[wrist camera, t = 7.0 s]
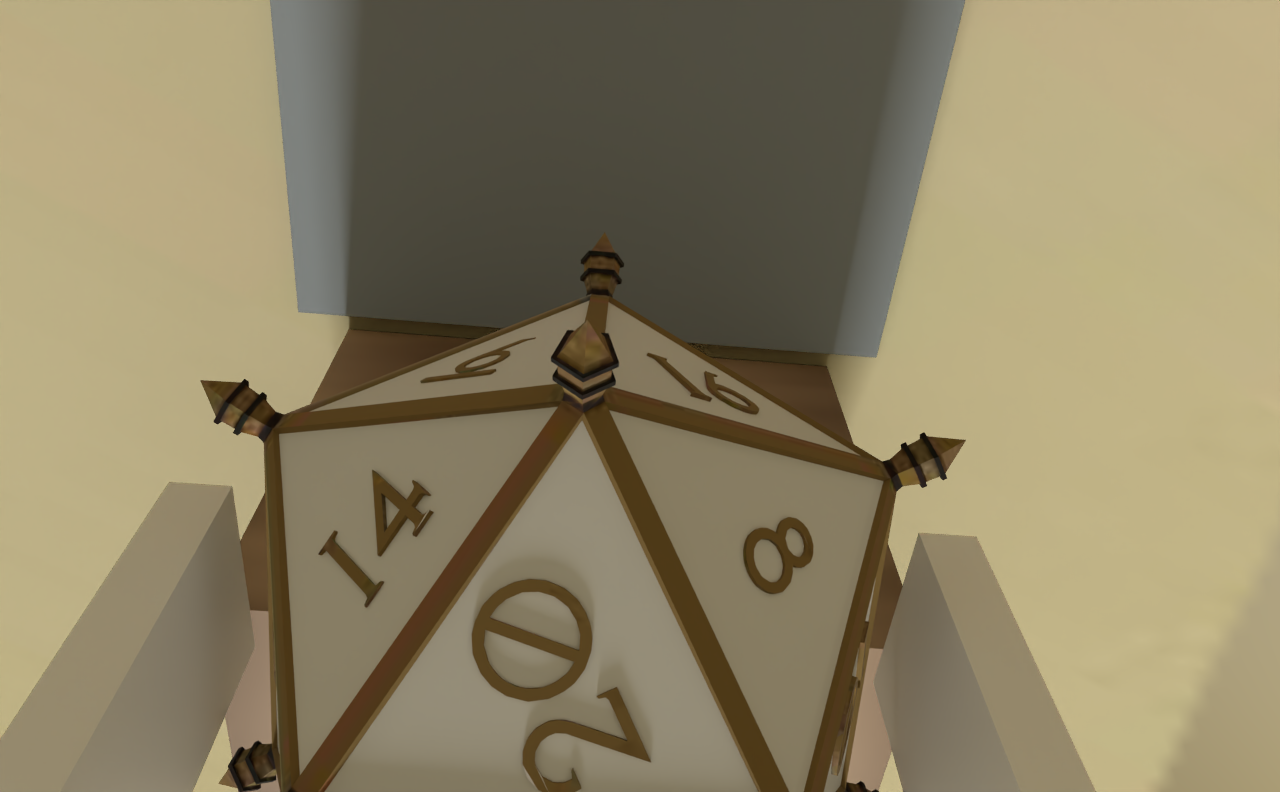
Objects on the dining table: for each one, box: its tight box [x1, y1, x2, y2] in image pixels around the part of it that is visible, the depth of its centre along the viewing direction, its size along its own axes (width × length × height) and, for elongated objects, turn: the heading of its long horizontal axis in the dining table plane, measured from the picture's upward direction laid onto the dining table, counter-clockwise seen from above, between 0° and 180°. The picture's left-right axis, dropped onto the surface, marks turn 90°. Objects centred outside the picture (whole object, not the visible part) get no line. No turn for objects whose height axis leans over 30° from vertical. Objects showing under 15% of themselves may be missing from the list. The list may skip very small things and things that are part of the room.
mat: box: [270, 0, 965, 357], centre depth 20 cm, size 13×11×1 cm
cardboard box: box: [225, 329, 902, 792], centre depth 21 cm, size 11×8×9 cm
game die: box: [200, 232, 966, 792], centre depth 12 cm, size 9×8×10 cm
